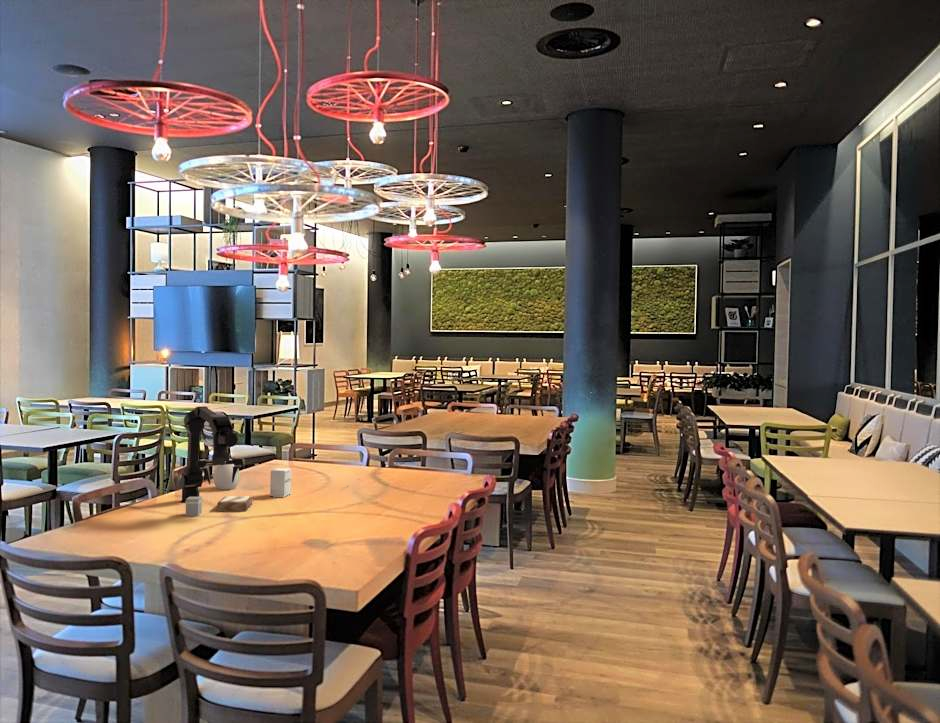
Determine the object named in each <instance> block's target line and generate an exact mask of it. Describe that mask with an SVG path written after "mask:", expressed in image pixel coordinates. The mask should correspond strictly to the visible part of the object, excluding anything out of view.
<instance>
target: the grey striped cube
mask: <svg viewBox="0 0 940 723" xmlns="http://www.w3.org/2000/svg"><path fill="white" fill-rule="evenodd" d="M202 497H203V496H199V497H188V498H187V499H186V502H185V517H199V516H201V514H202V510H203V509H202V507H203V506H202V505H203V498H202Z"/></svg>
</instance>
